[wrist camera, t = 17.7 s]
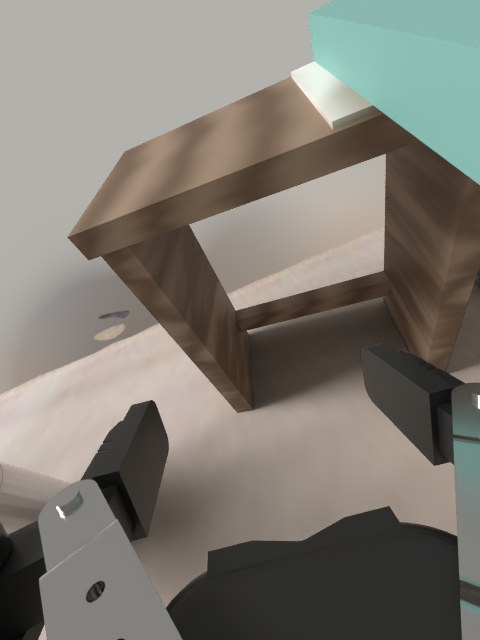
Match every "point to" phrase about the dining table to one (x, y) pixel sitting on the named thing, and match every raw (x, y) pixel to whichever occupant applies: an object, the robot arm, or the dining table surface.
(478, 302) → the dining table surface
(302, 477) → the dining table surface
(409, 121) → the teal square bar
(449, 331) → the stand
